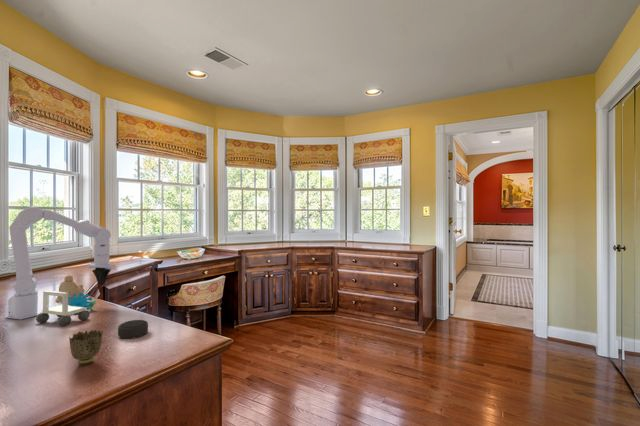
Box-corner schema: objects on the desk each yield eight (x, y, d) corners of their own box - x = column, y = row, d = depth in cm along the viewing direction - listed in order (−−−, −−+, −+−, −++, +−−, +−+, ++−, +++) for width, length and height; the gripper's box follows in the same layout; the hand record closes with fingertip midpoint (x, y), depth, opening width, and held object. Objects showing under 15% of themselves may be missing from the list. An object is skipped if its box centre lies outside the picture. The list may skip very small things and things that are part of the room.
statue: (44, 281, 147) (59, 271, 157) (50, 308, 151) (64, 297, 160) (73, 281, 149) (86, 271, 158) (78, 308, 153) (90, 296, 162)
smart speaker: (113, 341, 105) (114, 328, 105) (122, 331, 113) (122, 320, 113) (144, 338, 107) (144, 326, 107) (150, 329, 116) (150, 318, 116)
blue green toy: (59, 312, 130) (67, 291, 136) (60, 320, 133) (67, 299, 140) (92, 312, 135) (98, 292, 141) (92, 320, 138) (98, 299, 145)
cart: (35, 323, 121) (36, 292, 121) (65, 315, 131) (65, 286, 131) (61, 327, 117) (61, 294, 117) (89, 318, 127) (90, 288, 127)
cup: (80, 357, 92) (80, 329, 92) (107, 357, 93) (108, 328, 93) (61, 370, 84) (62, 339, 85) (91, 369, 85) (92, 338, 85)
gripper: (122, 254, 148) (121, 284, 148) (98, 253, 152) (97, 282, 152) (107, 256, 141) (107, 287, 141) (83, 254, 145) (82, 285, 145)
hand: (101, 284), depth 146 cm, fingers closed
